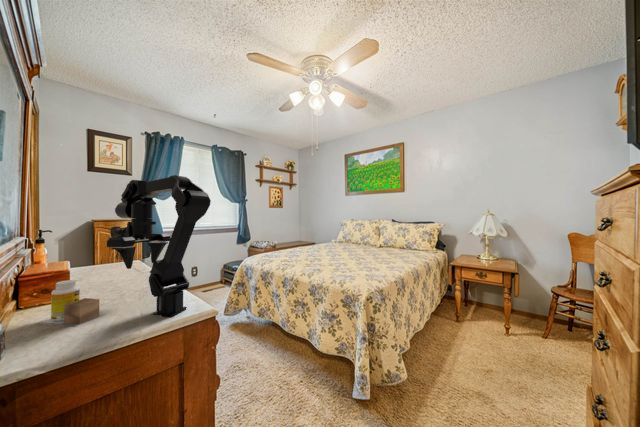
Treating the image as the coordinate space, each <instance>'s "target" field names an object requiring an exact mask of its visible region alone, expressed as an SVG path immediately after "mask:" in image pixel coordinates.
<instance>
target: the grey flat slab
mask: <svg viewBox="0 0 640 427" xmlns="http://www.w3.org/2000/svg"><path fill="white" fill-rule="evenodd" d="M106 315H107V314H105V313H99V317H96V318H94V319H91V320H89V321H86V322H84V323H81V324H73V323H64V320H63V321H53V320H51V318H49V319H46V320H43V321H40V322H38V323H37V324H38V325H45V326H46V325H49V326H60V327H71V328H72V327H73V328H75V327H78V326H80V325H83V324H85V323H89V322H91V321H93V320H96V319H99V318H101V317H103V316H106Z"/></svg>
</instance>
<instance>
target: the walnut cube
mask: <svg viewBox="0 0 640 427" xmlns="http://www.w3.org/2000/svg"><path fill="white" fill-rule="evenodd" d="M99 314H100V298H90V297H89V298H88V297H87V298H86V297H84V298H81V299H79V300H77V301H74V302H71V303H67V304H64V323H73V324H81V323H83V324H85V323H84V322H86V321H88V322H90V321H89V320H91V319H93V320H95V319H94V318H96V317H99ZM99 318H100V317H99ZM96 319H97V318H96ZM91 321H92V320H91ZM86 323H87V322H86ZM81 325H82V324H81Z"/></svg>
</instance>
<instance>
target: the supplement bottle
mask: <svg viewBox="0 0 640 427" xmlns="http://www.w3.org/2000/svg"><path fill="white" fill-rule="evenodd" d="M50 294H51V298H50V305H51V306H50V319H51V320H53V321H63V320H64V304H67V303H71V302H74V301H77V300H80V297H81V296H80V287H79V286H77V280H76V279H71V280H70V279H68V280H61V281H58V282H56V283H55V289H54V290H52V291H51V293H50Z"/></svg>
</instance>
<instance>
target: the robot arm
mask: <svg viewBox="0 0 640 427" xmlns="http://www.w3.org/2000/svg"><path fill="white" fill-rule="evenodd" d="M169 192H171V198H172V199H173V201H175V206H174V208H175V211H176V213H177V219H176V222H175V225H174V227H173V230H172V232H171V235H170V233H167V232H165V233H163V232H161V233H160V232H159V233H158V232H157V233H153V231H154V230H153V229H154V228H153V225H154V226H155V225H156V223H157V222H156V221H154V219H153V217H154V216H153V215H154V214H153V213H154V212H153V210H154V209H153V208H154V207H153V206H156V205H157V202H156V201H155V200H153V199H155V198H157V197H158V196H159V195H160V194H163V193H169ZM120 196H121V198H120V201H121V202H119V203H118V204H117V205H116V207H115V208H114V213H115V215H116V216H117V217H119V218H120V219H130V221H127V224H126V226H125V227H121V226H117V225H116V226H113V227H110V231H109V233H110V237H108V239H107V240H106V247H107V248H110V249H111V250H114V251H116V252H117V253H119V255H120V257H121V258H122V262H123V263H124V266H125V267H126V269H128V270H131V269H132V266H133V262H134V257H135V253H136V248H137V247H136V246H134V245H135V244H138V243H147V244H148V246H149V248H150V261H151V264H152V267H151V270H150V271H149V274H150V275H149V276H148V284H149V289H150V293H151V296H153V297H154V298H156V312H153V313H152V315H154V316H161V317H170V318H171V317H174V316H176V315H178V314H179V313H182V312H183V311H185V310H186V308H187V306H184V291H185V290H189V287H190V281H189V280H188V278H187V277H186V275H185V274H184V272H185V268H184V265H183V263H182V262H183V260H184V256H185V254H186V251H187V249H188V246H189V242H190V240H191V237H192V235H193V232H194V231H195V230H194V229H195V227H196V224H197V222H198V221H199V220H201V219H202V218H203V216H206V213H207V211H208V209H209V208H210V206H211V201H212V200H211V198H210V195H209V194H208V193H207V192H206V191H204V189H203V188H201V187H200V186H198V185H197V184H195V183H193V181H192V180H191V179H190V178H188V176H181V175H176V174H173V175H170V176H168V177H163V178H157V179H154V180H153V179H152V180H140V179H139V180H138V179H131V180H130V181H129V182H128V183H127V184H126V187H125V188H124V190H123V192H122V194H121V195H120ZM166 245H167V246H166ZM165 247H166V250H165V253H164V255H163V258H162V259H158V258H159V257H160V255H161V253H162V251H163V250H164V249H165ZM184 309H185V310H184ZM187 309H188V308H187ZM181 311H182V312H181Z"/></svg>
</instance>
